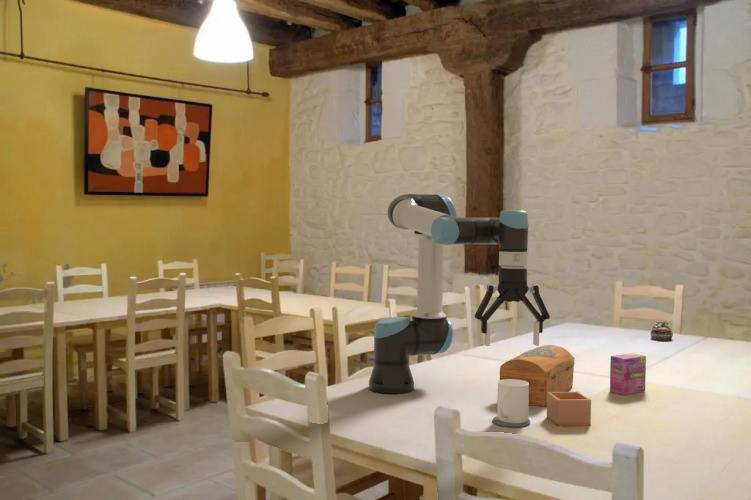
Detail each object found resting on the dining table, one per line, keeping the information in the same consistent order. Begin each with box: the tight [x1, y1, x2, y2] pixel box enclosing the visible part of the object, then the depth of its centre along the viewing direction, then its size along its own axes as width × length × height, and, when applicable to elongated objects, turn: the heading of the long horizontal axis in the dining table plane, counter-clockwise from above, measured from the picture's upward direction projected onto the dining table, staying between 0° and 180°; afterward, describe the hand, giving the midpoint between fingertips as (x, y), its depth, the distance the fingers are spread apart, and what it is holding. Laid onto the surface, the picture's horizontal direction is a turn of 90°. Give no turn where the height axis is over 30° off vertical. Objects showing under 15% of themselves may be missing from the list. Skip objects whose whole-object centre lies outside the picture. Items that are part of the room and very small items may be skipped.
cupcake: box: [650, 321, 674, 342], centre depth 317 cm, size 10×10×10 cm
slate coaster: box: [492, 415, 531, 429], centre depth 187 cm, size 10×10×1 cm
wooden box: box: [499, 344, 575, 407], centre depth 220 cm, size 30×16×14 cm, turn 148°
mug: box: [496, 379, 530, 424], centre depth 186 cm, size 12×8×10 cm
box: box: [609, 352, 647, 396], centre depth 223 cm, size 10×6×12 cm, turn 117°
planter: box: [546, 391, 592, 427], centre depth 188 cm, size 9×9×7 cm
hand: (511, 345), depth 187 cm, fingers open, 13 cm apart
